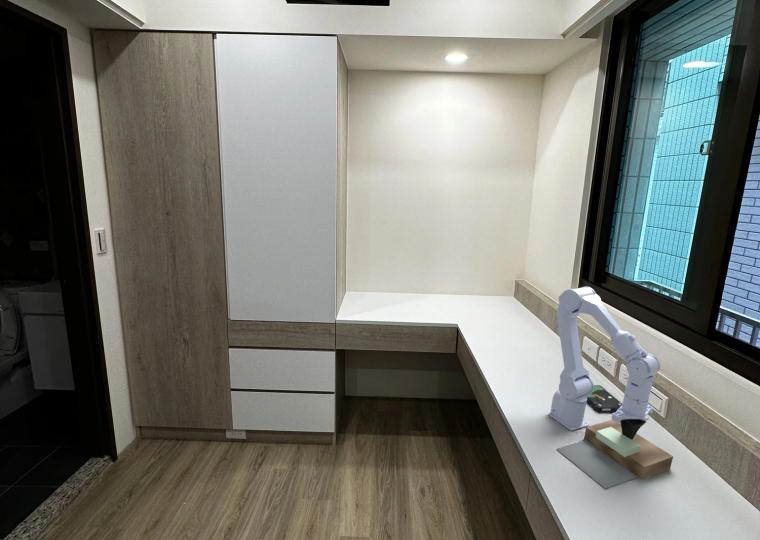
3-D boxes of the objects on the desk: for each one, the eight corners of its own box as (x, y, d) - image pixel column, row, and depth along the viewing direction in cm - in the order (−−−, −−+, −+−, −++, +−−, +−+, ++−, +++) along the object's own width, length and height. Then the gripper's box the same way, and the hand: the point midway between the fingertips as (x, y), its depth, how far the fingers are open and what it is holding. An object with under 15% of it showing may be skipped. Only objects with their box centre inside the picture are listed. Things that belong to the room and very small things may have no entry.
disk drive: (625, 414, 138) (598, 391, 153) (627, 407, 138) (600, 384, 152) (597, 414, 137) (573, 391, 151) (599, 407, 136) (574, 384, 151)
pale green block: (595, 437, 117) (596, 430, 117) (609, 432, 120) (611, 426, 119) (624, 457, 109) (626, 450, 109) (639, 452, 112) (640, 445, 111)
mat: (556, 449, 117) (556, 448, 117) (585, 440, 122) (586, 439, 122) (605, 489, 103) (605, 488, 103) (636, 477, 108) (637, 476, 108)
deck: (583, 438, 123) (586, 427, 122) (611, 430, 128) (613, 419, 127) (641, 479, 107) (644, 466, 106) (670, 468, 112) (673, 456, 111)
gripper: (632, 408, 106) (622, 453, 110) (667, 399, 112) (657, 441, 115) (608, 395, 113) (599, 437, 116) (642, 386, 118) (633, 427, 122)
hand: (627, 438), depth 116 cm, fingers closed
